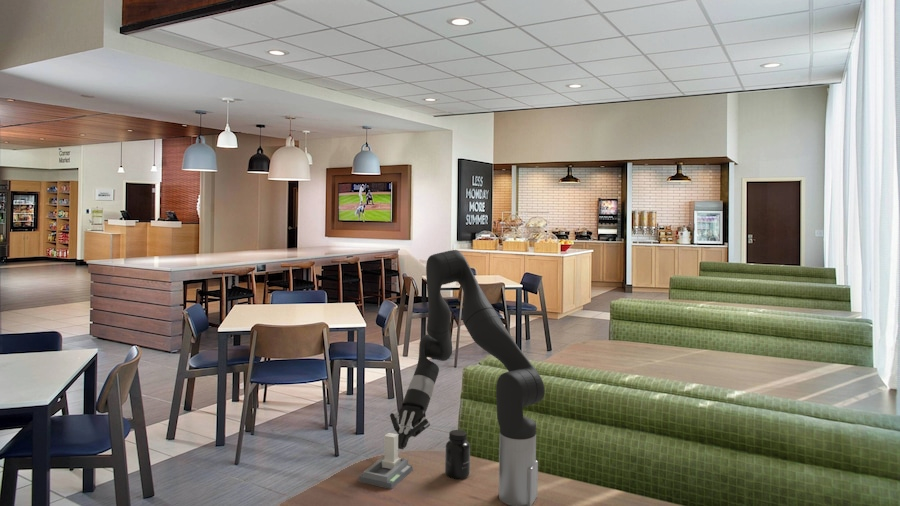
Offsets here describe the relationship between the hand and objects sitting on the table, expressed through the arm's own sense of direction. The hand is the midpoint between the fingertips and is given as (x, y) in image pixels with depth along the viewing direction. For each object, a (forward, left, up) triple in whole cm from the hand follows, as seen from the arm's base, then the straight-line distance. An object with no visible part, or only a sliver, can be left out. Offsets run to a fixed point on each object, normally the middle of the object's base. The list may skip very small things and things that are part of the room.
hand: (399, 447), depth 175 cm
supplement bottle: (-18, -1, -5) cm, 18 cm away
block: (0, +5, -3) cm, 6 cm away
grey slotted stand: (0, +8, -5) cm, 9 cm away
